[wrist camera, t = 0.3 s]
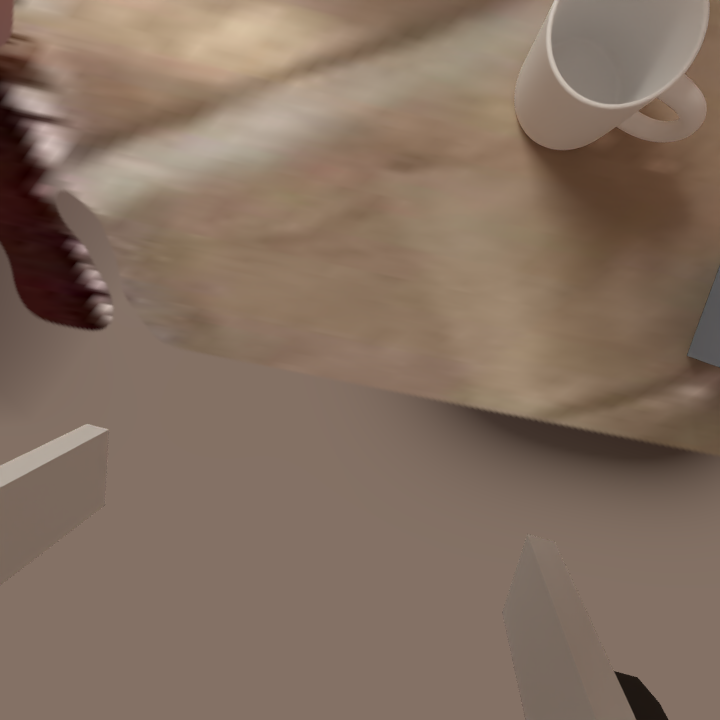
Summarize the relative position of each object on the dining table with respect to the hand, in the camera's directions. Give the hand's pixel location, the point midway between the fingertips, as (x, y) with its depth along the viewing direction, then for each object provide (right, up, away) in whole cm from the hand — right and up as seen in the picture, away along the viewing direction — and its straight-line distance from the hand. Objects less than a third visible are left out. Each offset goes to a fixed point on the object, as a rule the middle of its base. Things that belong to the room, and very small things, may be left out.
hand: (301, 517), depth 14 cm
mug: (+19, +24, +21) cm, 37 cm away
